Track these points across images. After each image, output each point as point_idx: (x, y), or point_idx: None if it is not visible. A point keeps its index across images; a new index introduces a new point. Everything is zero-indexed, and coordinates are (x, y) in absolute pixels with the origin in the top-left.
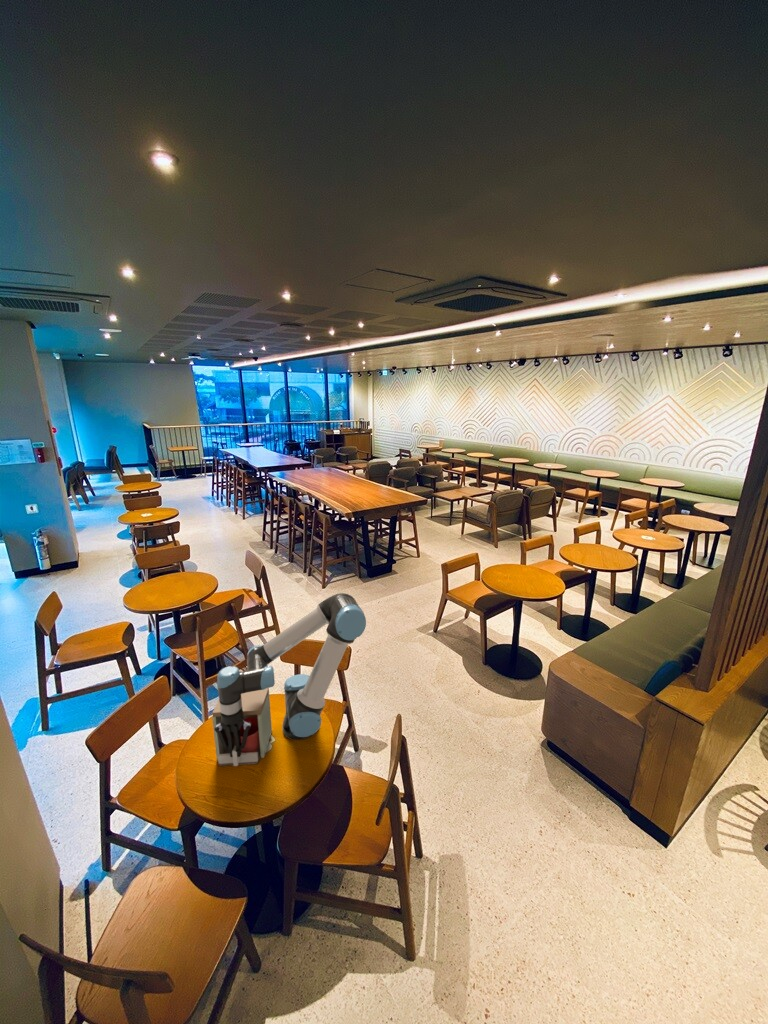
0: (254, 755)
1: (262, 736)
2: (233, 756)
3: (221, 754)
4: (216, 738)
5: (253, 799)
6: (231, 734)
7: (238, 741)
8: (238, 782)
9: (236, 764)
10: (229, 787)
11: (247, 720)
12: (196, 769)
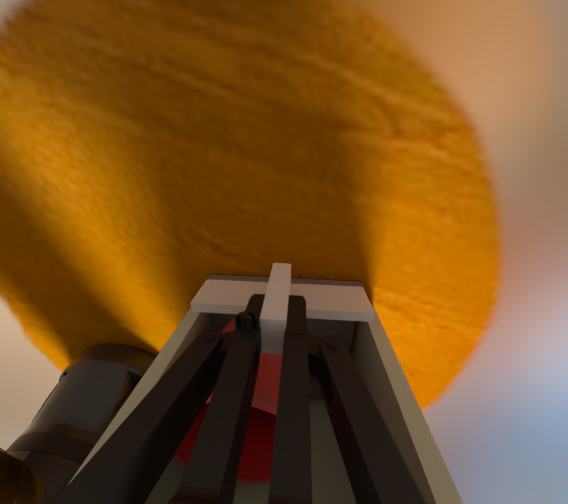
0: (205, 298)
1: (137, 385)
2: (283, 294)
3: (358, 318)
4: (408, 410)
5: (152, 92)
6: (269, 500)
7: (215, 391)
8: (257, 196)
9: (276, 266)
10: (289, 173)
11: (263, 463)
12: (450, 275)
